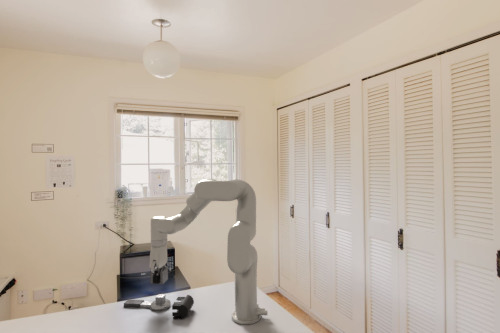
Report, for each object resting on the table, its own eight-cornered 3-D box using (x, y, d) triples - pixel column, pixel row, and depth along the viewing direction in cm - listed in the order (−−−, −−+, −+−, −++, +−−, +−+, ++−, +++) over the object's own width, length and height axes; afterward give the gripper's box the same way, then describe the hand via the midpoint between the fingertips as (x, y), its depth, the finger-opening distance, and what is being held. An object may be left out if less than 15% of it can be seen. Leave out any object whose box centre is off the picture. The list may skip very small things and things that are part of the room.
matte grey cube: (156, 278, 145) (156, 266, 145) (167, 279, 144) (167, 266, 144) (150, 283, 139) (150, 270, 139) (162, 284, 138) (162, 271, 138)
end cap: (188, 320, 128) (187, 304, 128) (172, 320, 129) (171, 304, 129) (194, 309, 138) (193, 294, 138) (179, 309, 139) (178, 294, 139)
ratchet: (173, 302, 145) (173, 292, 145) (165, 311, 136) (165, 300, 136) (131, 300, 148) (130, 290, 148) (120, 309, 139) (120, 298, 139)
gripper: (159, 237, 150) (159, 273, 150) (142, 247, 133) (143, 287, 133) (173, 238, 149) (174, 274, 149) (158, 247, 132) (158, 288, 132)
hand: (159, 280), depth 141 cm, fingers closed on matte grey cube, 6 cm apart
